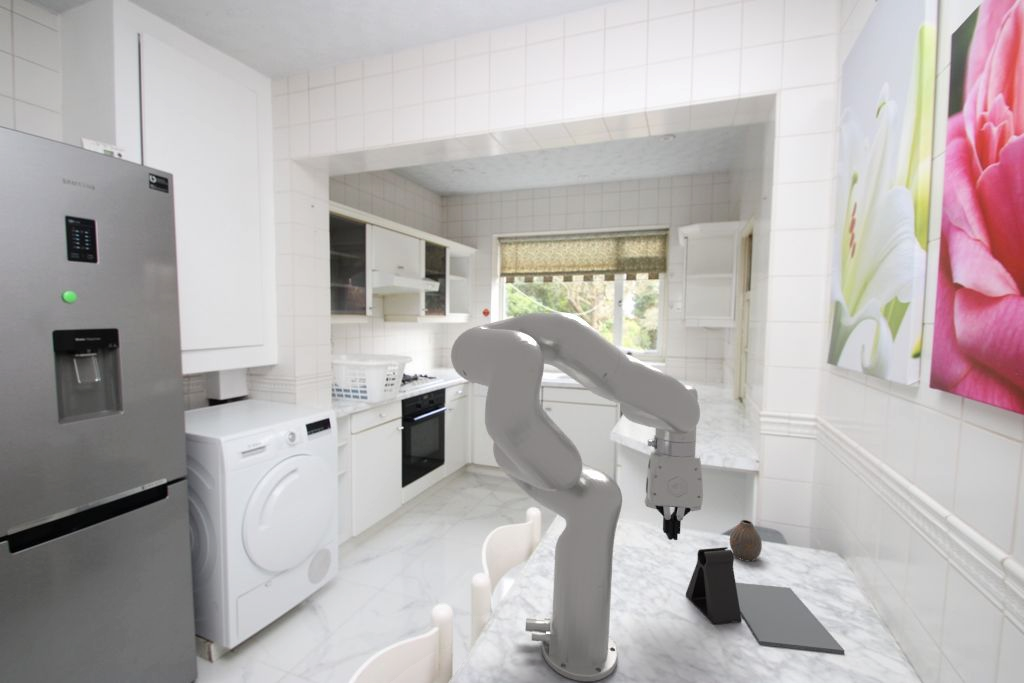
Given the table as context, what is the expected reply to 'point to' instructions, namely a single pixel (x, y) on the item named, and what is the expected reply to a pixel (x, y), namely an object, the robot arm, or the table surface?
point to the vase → (745, 541)
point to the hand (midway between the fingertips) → (671, 536)
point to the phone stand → (715, 586)
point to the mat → (782, 619)
